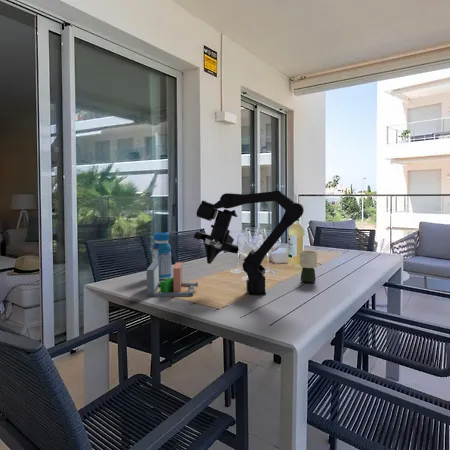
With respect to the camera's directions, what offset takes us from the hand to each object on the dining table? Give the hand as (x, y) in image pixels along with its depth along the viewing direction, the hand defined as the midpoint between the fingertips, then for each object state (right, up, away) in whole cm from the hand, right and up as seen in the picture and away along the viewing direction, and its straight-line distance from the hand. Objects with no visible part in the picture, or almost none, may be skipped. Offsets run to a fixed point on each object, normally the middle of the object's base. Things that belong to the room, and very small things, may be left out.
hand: (208, 263), depth 138 cm
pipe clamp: (-16, -11, +1) cm, 20 cm away
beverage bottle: (-22, -9, +23) cm, 33 cm away
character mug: (+42, -10, +15) cm, 45 cm away
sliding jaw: (-9, -10, +2) cm, 14 cm away
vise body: (-15, -11, +2) cm, 18 cm away
